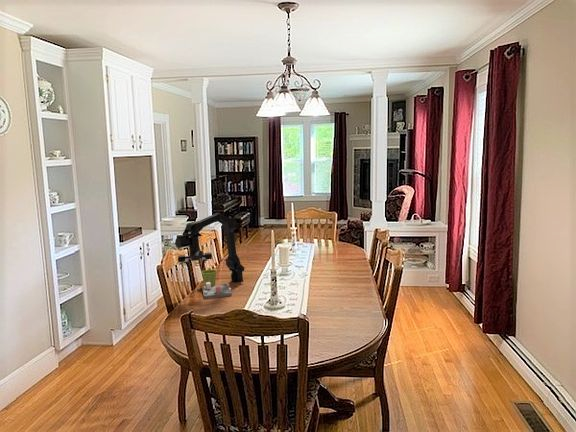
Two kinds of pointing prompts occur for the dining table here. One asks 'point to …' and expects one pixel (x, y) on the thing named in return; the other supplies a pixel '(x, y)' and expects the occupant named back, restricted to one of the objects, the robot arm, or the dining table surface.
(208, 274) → the plant pot
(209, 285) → the fader white
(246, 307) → the dining table surface
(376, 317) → the dining table surface
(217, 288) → the fader red
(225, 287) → the mixing board
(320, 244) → the dining table surface
